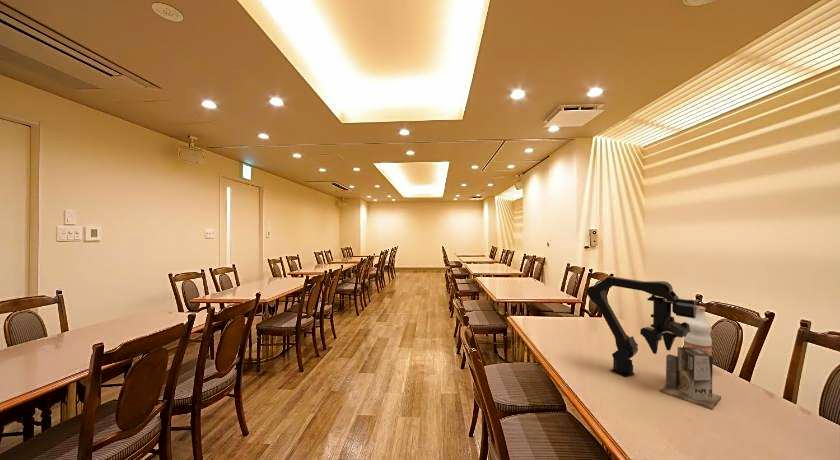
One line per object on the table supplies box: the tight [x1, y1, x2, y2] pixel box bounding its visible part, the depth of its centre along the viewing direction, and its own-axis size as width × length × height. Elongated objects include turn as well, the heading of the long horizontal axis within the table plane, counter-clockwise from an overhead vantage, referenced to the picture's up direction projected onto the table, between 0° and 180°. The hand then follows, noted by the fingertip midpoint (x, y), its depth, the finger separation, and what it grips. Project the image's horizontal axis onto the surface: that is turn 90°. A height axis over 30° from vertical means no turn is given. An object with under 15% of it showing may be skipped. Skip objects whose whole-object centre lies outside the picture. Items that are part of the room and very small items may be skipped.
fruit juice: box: [683, 305, 713, 356], centre depth 143 cm, size 9×9×28 cm
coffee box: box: [676, 346, 714, 401], centre depth 119 cm, size 9×6×16 cm
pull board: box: [659, 353, 722, 411], centre depth 120 cm, size 15×13×13 cm
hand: (661, 351), depth 128 cm, fingers open, 9 cm apart
